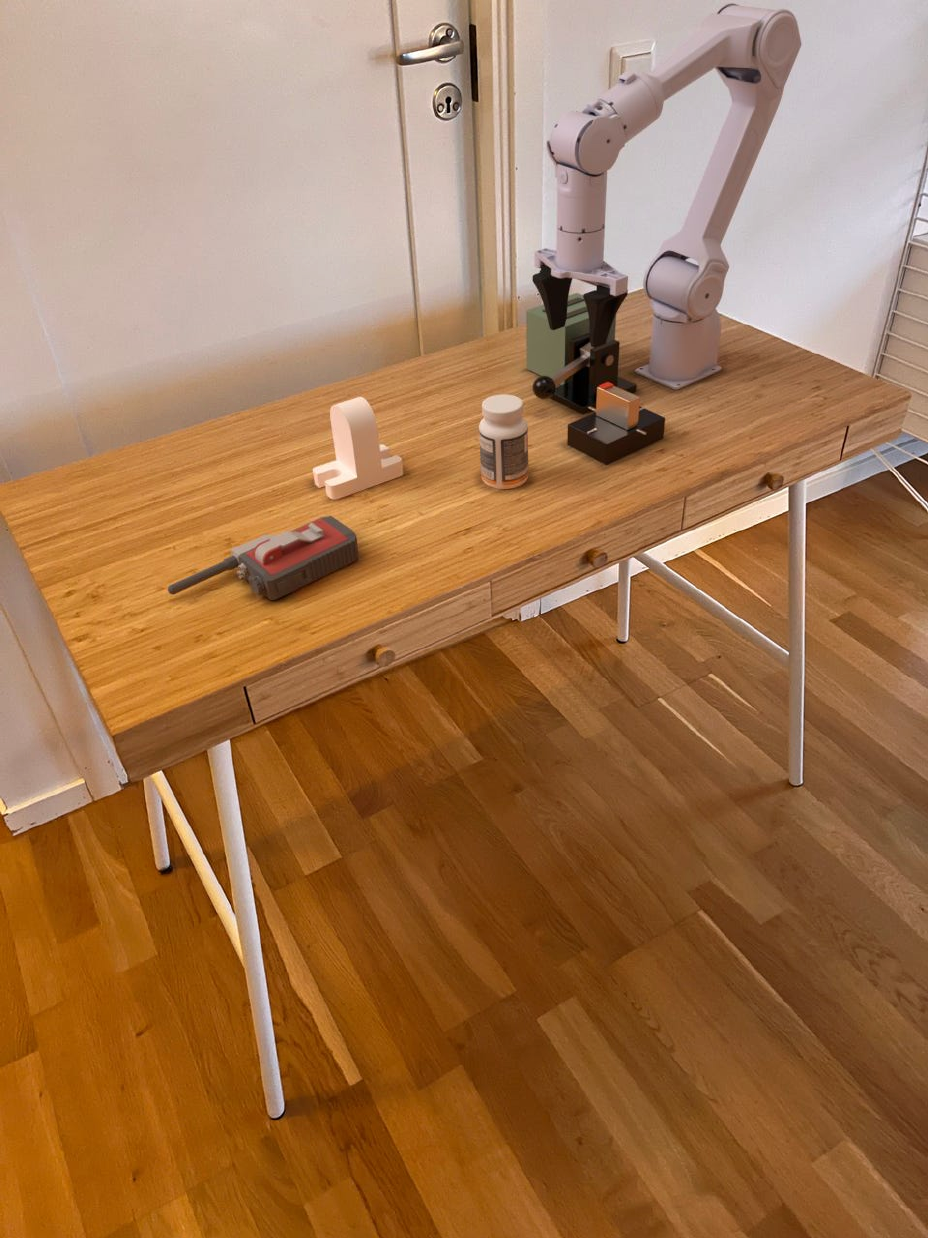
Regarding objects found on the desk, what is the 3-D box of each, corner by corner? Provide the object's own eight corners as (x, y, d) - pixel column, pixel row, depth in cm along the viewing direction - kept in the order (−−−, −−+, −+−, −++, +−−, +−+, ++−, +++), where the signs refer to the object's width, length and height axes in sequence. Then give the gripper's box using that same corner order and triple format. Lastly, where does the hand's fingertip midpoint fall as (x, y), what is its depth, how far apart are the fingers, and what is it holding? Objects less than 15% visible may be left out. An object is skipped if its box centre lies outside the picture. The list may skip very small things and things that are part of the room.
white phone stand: (405, 474, 117) (397, 398, 111) (333, 500, 113) (321, 423, 107) (383, 457, 120) (375, 383, 114) (313, 482, 116) (300, 406, 110)
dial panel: (616, 416, 126) (617, 394, 124) (671, 443, 120) (674, 420, 118) (559, 441, 121) (560, 419, 119) (614, 470, 115) (615, 447, 113)
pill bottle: (529, 467, 117) (529, 391, 111) (527, 491, 112) (526, 414, 106) (483, 466, 117) (480, 391, 111) (478, 491, 113) (475, 414, 107)
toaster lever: (545, 406, 124) (541, 387, 122) (529, 399, 126) (525, 379, 124) (610, 361, 128) (608, 342, 126) (594, 354, 130) (592, 335, 128)
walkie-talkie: (327, 523, 109) (166, 597, 100) (322, 489, 106) (156, 562, 97) (372, 555, 104) (206, 636, 94) (367, 521, 101) (197, 601, 91)
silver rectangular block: (638, 425, 117) (640, 395, 115) (627, 430, 117) (629, 399, 114) (605, 410, 121) (607, 380, 118) (595, 415, 120) (596, 385, 117)
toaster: (575, 352, 142) (576, 291, 137) (613, 369, 137) (616, 306, 131) (526, 371, 138) (526, 308, 132) (564, 389, 133) (565, 325, 127)
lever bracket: (583, 415, 127) (584, 359, 122) (547, 398, 131) (548, 343, 126) (636, 392, 131) (640, 337, 126) (600, 376, 136) (603, 322, 131)
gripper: (515, 220, 117) (516, 328, 125) (599, 247, 107) (594, 362, 116) (558, 207, 120) (557, 313, 128) (643, 233, 111) (635, 345, 119)
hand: (577, 336), depth 122 cm, fingers open, 7 cm apart
